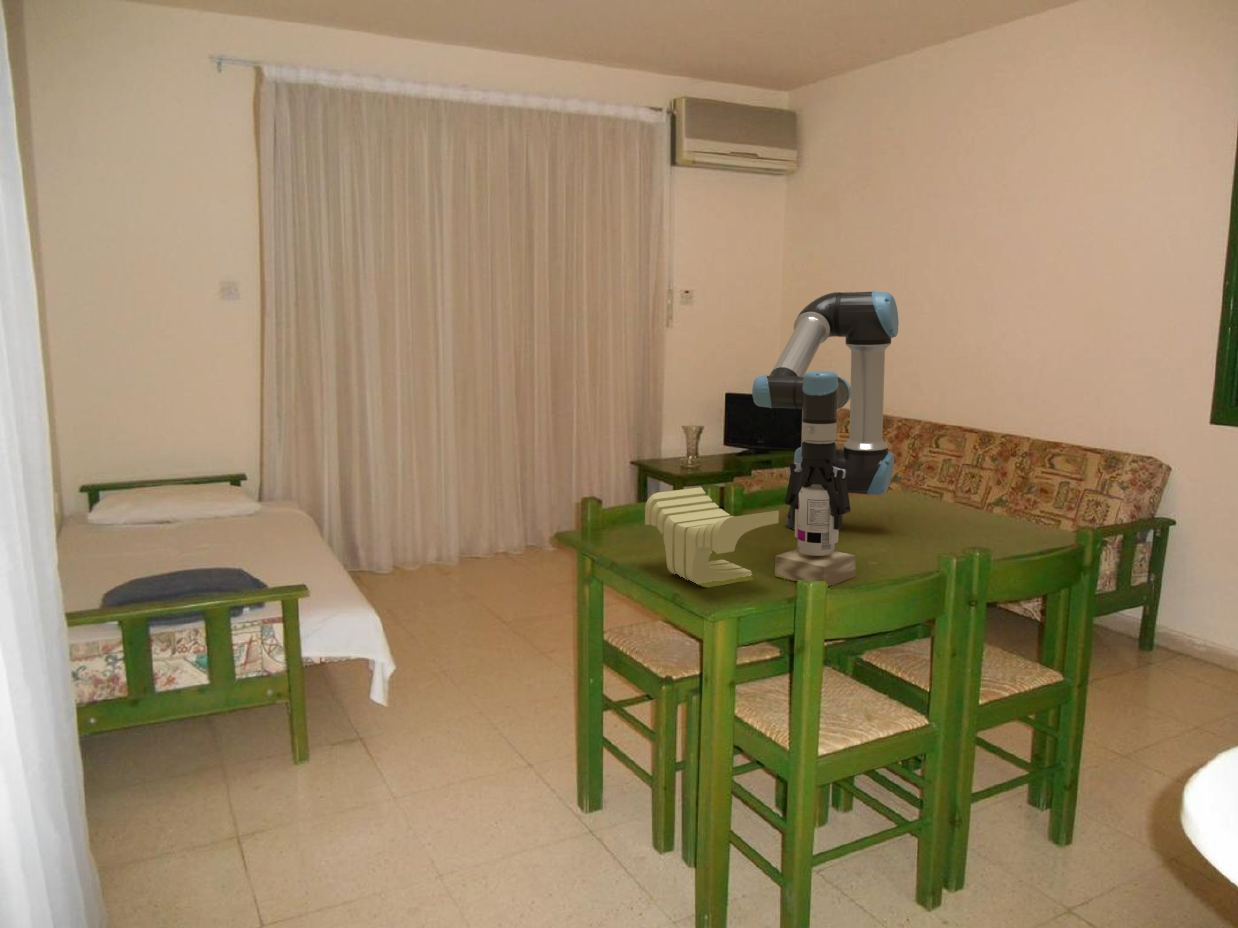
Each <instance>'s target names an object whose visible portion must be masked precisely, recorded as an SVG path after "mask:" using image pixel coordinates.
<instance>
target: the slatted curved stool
mask: <svg viewBox="0 0 1238 928" xmlns="http://www.w3.org/2000/svg"><path fill="white" fill-rule="evenodd" d="M706 494H707V493H706V491H705V490H704V489H703V487H701V486H700V487H694V488H684V489H676V490H668V491H660V492H659V491H658V492H655V493H653V494H652V495H650V496H649V498H648V499H647V501H646V503H645V507H644V526H650V525H651V526H652V527H655V528H656V527H657V530H658V531H659V532H660V534H661V535H663V544H664V549H665V557H666V558H665V559H666V562H665V563H666V567H667V570H668V572H669V573H671V572H672V573H671V574H673V573H674V574H673V575H675V574H678V575H679V576H680V578H681V577H683V578H685V579H684V580H686V579H687V580H686V581H688V580H690V581H692V582H694V583H696V584H701V583H707V582H712V581H725V580H729V579H736V578H739V577H746V576H751V575H752V576H753V574H752V570H750V569H747V568H745V567H742V566H740V565H737V564H736V563H733V562H732V563H731V561H728V560H725V559H718V560H710V558H711V554H712V553H713V552H714V553H715V554H716V555H719V554H725V553H732V552H733V553H734V552H735V551H736V550H735V549H736V546H737V543H738V541H739V539H740V538H741V537H742V536H743V535H745V534H746V533H747V532H750V531H753V530H755V529H757V528H761V527H765V526H766V527H767V526H771V525H775V524H779V519H780V518H779V517H780V513H779V512H780V510H773V511H771V510H770V511H765V512H764V511H763V512H759V513H751V514H744V515H743V514H742V515H738V516H737V515H736V516H734V515H731V514H730V513H728V512H726V511H725V510H724V509H722V508H720V506H719V505H718V504H717V503H715V502H713V499H712V498H711V497H710V496H709V495H706ZM679 576H678V577H679ZM683 578H682V579H683ZM690 581H689V582H690ZM692 582H691V583H692ZM694 583H693V584H694ZM696 584H695V585H696Z"/></svg>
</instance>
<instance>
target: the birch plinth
mask: <svg viewBox="0 0 1238 928" xmlns="http://www.w3.org/2000/svg"><path fill="white" fill-rule="evenodd" d="M856 556H857V555H856V554H850V553H846V552H842V551H841V552H840V551H838V550H837V551H836V550H834V551H833V552H832V553H831V554H829V555H824V556H812V555H806V554H803V553H801V552H800V550H798V548H795V549H792V550H788V551H786V552H783V553H780V554H778V555H777V554H776V555H775V556H774V557H775V559H774V561H775V563H774V575H775V574H777V575H781V576H784V577H786V578H789V579H792V580H795V581H798V580H808V581H826V583H827V584H828V585H832V586H834V585H837V584H839V583H842V582H844V581H847V580H849V579H853V578H855V577H856V561H857V559H856V558H857V557H856Z"/></svg>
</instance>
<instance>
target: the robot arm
mask: <svg viewBox="0 0 1238 928" xmlns="http://www.w3.org/2000/svg"><path fill="white" fill-rule="evenodd" d="M898 333H899V311H898V306H897V301H896V299H895V297H894V296H893V294H891V293H890V292H886V291H885V292H884V291H876V290H873V291H850V292H848V291H847V292H841V291H839V292H838V291H836V292H831V293H827V294H824V295H821V296H819V297H818V298H816V299H814V300H813V301H811V302H810V303H809V304H807V305H806V306H805V307H804V308H803V309H802V310H801V311H800V312H799V314H798V315H797V317H796V318H795V320H794V322H793V332H792V334H791V335H790V337H789V339H788V341H787V344H786V345H785V347H784V349H783V350H782V352H781V354H780V355H779V358H778V359H777V361H776V363H775V365H774V367H773V368H772V371H771V372H770V374H769V375H767V374H764V375H759V376H756V377H755V379H754V381H753V384H752V399H753V400H752V401H753V402H754V404H755V405H756V406H758V407H761V408H770V409H774V408H775V409H799V410H802V419H801V420H802V422H801V423H802V424H801V426H802V427H801V428H802V429H801V438H802V440H803V441H802V443H801V446H800V447H797V449H796V450H795V452H794V457H793V458H794V459H793V462H792V463H790V464H789V472H790V474H789V478H788V479H789V480H788V484H787V488H786V489H787V490H786V493H785V500H784V504H785V505H786V506H787V505H788V506H790V507H789V509H788V511H787V512H788V513H787V514H786V515H787V516H786V520H785V521H786V522H785V525H787V526H788V527H789V528H788V527H787V526H786V527H787V528H788V529H790V528H794V529H795V530H794V538H798V502H799V492H800V490H801V488H802V486H803V487H808V486H811V485H813V484H818V485H821V486H822V487H823V488H824V490H827V493H828V495H829V504H830V507H831V510H832V513H833V514H831V515H830V518H829V544H834V543H835V544H838V543H839V531H840V530H841V529H842V526H843V525H842V524H843V523H842V522H843V515H845V514H849V513H850V512H851V511H852V510H851V503H850V498H849V497H850V496H849V494H857V495H858V494H859V495H867V496H871V495H872V496H873V495H874V496H881V495H884V494H885V493H886V492H887V490H888V489H889V487H890V483H891V481H892V477H893V473H894V467H895V454H894V453H892V452H891V451H889V444H888V443H886V441H884V439H883V430H884V429H883V426H884V423H883V422H884V399H885V398H884V396H885V395H884V394H885V393H884V392H885V391H884V390H885V361H886V360H885V358H886V357H885V356H886V355H885V354H886V350H887V349H888V348H889V346H891V344H892V339H893V338H896V337H897V336H898ZM832 337H834V338H835V337H838V338H845V346H847V347H848V349H849V350H850V351H851V353H850V383H849V382H848V381H847V380H846V379H845V378H843V377H842V376H838V374H837V373H836V372H835V371H830V370H829V371H824V370H823V371H822V370H820V371H819V370H817V371H816V370H815V371H808V368H809V366H810V365H811V363H812V361H813V359H814V358H815V355H816V353H817V351H818V349H819V347H820V346H821V344H823V343H825V342H826V341H827V340H828V339H829V338H832ZM807 371H808V372H807ZM848 402H849V403H850V405H849V438H848V440H847V441H846V442H845V443H844V444H843V449H839V448H838V445H837V443H836V442H835V440H837V426H838V425H837V415H838V410H839V409H842V408H843V407H845V405H846V404H847V403H848Z"/></svg>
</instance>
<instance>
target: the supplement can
mask: <svg viewBox="0 0 1238 928" xmlns="http://www.w3.org/2000/svg"><path fill="white" fill-rule="evenodd" d="M831 514H833V513H832V510H831V507H830V504H829V495H828V493H827V490H824V488H823V487H822V486H821V485H818V484H813V485H811V486H808V487H803V486H802V488H801V490H800V492H799V502H798V537H797V548H796V549H798V550H800V552H801V553H803V554H806V555H812V556H824V555H829V554H831V553H832V552H833V551H835V544H836V543H834V544H829V518H830V515H831Z"/></svg>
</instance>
